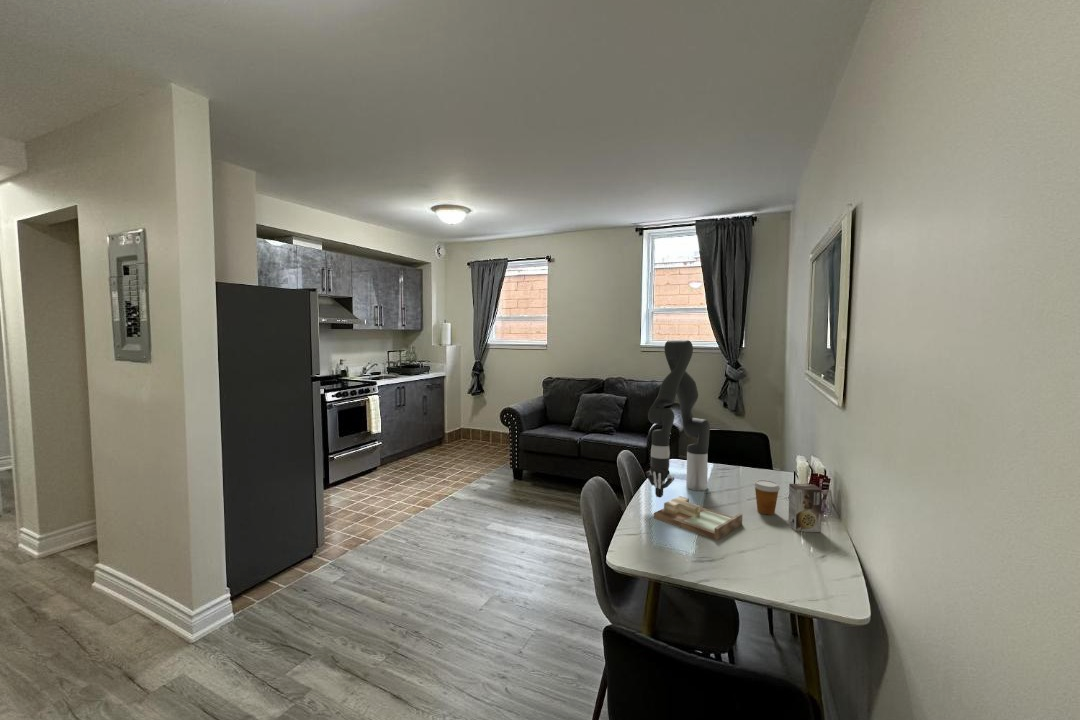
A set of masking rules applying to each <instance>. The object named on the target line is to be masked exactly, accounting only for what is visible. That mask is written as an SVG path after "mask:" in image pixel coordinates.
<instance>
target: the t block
mask: <svg viewBox="0 0 1080 720" xmlns="http://www.w3.org/2000/svg"><path fill="white" fill-rule="evenodd" d="M700 507H701V505H698V504H695V503H691V502H690V499H689V498H688V497H685V496H680V495H679V496H677V497H675V498H672V499H671V500H668V501H666V502H664V503H663V509H664V512H666V513H669V514H672V515H673V514H676V513H678V512H680V513H683V514H686V515H689V516H692V517H696V516H698V515H700Z"/></svg>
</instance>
